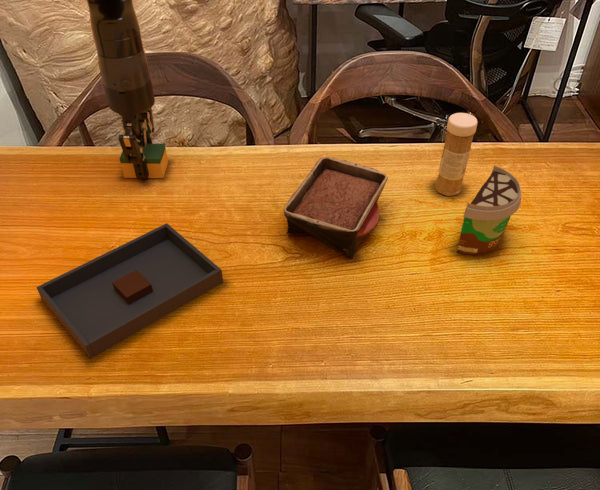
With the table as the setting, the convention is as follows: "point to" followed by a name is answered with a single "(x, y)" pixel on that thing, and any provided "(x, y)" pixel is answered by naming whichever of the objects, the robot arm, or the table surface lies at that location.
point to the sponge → (148, 162)
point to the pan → (110, 305)
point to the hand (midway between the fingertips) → (146, 168)
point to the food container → (489, 214)
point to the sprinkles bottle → (455, 153)
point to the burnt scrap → (132, 287)
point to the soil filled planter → (337, 203)
